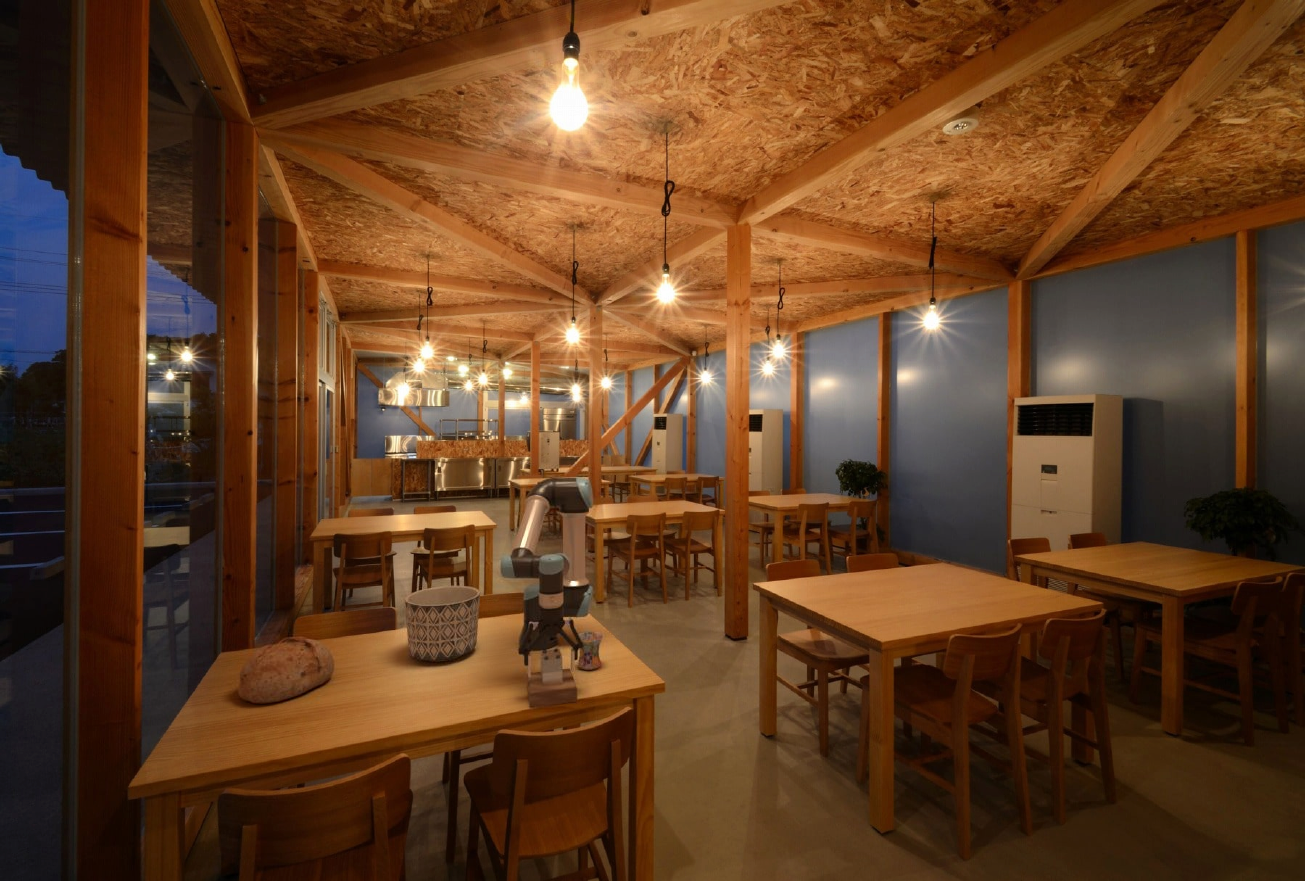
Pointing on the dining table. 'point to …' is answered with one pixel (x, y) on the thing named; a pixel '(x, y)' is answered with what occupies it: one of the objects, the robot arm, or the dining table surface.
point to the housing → (551, 667)
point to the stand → (551, 690)
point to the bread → (285, 670)
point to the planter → (442, 622)
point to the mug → (589, 650)
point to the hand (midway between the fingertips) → (551, 672)
